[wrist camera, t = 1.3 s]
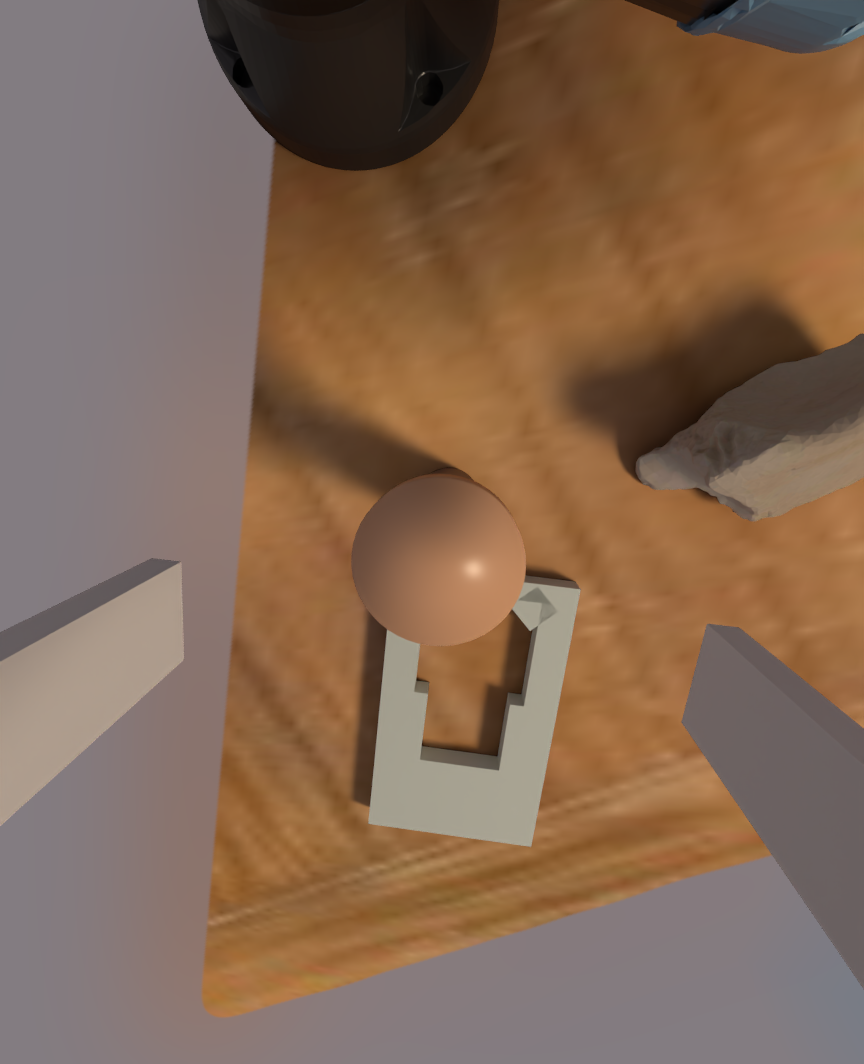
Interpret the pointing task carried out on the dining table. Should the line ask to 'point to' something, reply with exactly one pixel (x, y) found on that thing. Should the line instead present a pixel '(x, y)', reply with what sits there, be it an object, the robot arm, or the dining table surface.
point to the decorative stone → (773, 438)
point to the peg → (439, 559)
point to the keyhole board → (468, 778)
